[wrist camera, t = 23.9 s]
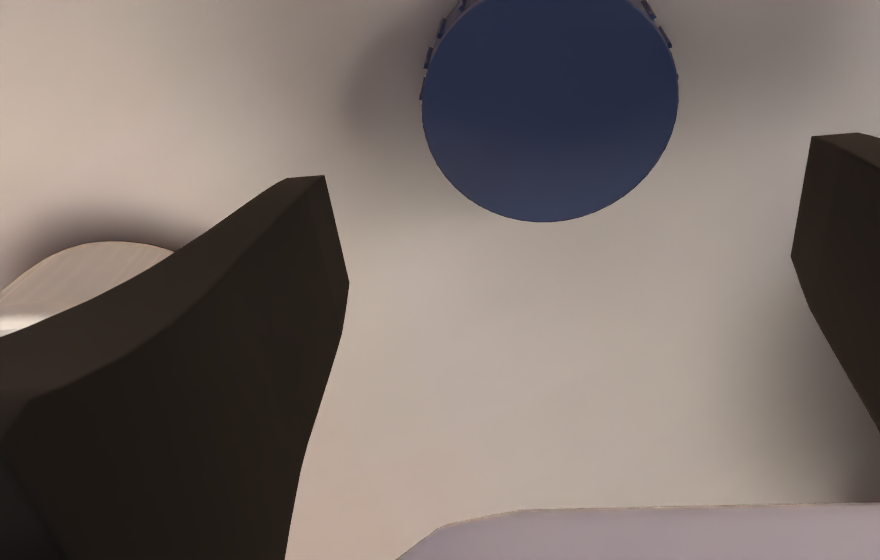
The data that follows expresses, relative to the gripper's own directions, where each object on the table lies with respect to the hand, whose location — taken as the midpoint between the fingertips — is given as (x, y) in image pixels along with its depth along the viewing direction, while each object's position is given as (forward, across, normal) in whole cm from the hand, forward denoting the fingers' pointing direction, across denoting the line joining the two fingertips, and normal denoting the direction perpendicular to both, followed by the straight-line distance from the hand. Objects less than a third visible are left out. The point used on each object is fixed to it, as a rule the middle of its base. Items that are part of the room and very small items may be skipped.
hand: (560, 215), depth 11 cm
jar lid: (+5, 0, 0) cm, 5 cm away
